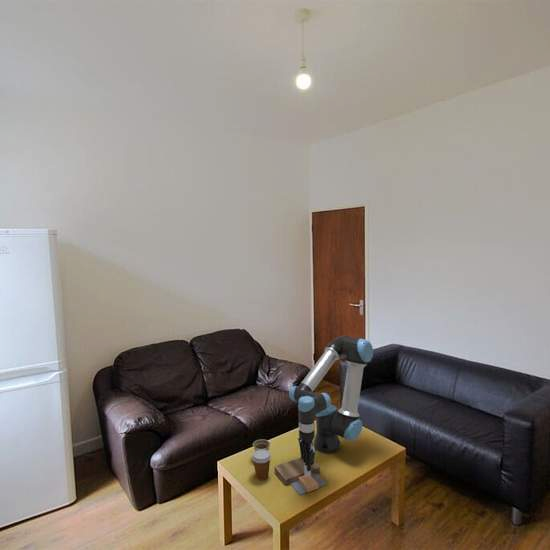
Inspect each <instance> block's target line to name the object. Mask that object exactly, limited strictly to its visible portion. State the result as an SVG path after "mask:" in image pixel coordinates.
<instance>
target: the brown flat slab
mask: <svg viewBox="0 0 550 550" xmlns="http://www.w3.org/2000/svg"><path fill="white" fill-rule="evenodd" d="M273 470H274V473H275V474H276V476H277V477H278V478H279V479H280V480H281V481H282V482H281V483H283V484H284V486H289V485H291V484H290V483H293V482H296V481H298V477H301V476H303V475H304V462H303V459H301V456H300V457H298V458H295V459H292V460H289V461H286V462H283V463H281V464H278V465H275V466H274V469H273ZM314 474H317V475H319V474H321V467H320V466H319V465H318V463H316V462H315V461H314V464H313V465H311V475H314Z"/></svg>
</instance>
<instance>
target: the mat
mask: <svg viewBox="0 0 550 550" xmlns="http://www.w3.org/2000/svg"><path fill="white" fill-rule="evenodd" d="M311 476H312V478H313V479H314V480H315V481H316V482H317V483H318V484H319V488H321V487H325V486H327V483H326V482H325V481H324V480H323V479H322V478H321V477H320V476H319V474H314V475H311ZM289 485H290V486H291V487H292V488H293V490H295V492H296V493H297V494H298V495H299V496H302V495H305V494H307V493H308V492H307V490H306V489H305V488H304V487H303V486H302V485H301V484H300V482H299V481H296V482H293V483H290V484H289Z"/></svg>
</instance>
